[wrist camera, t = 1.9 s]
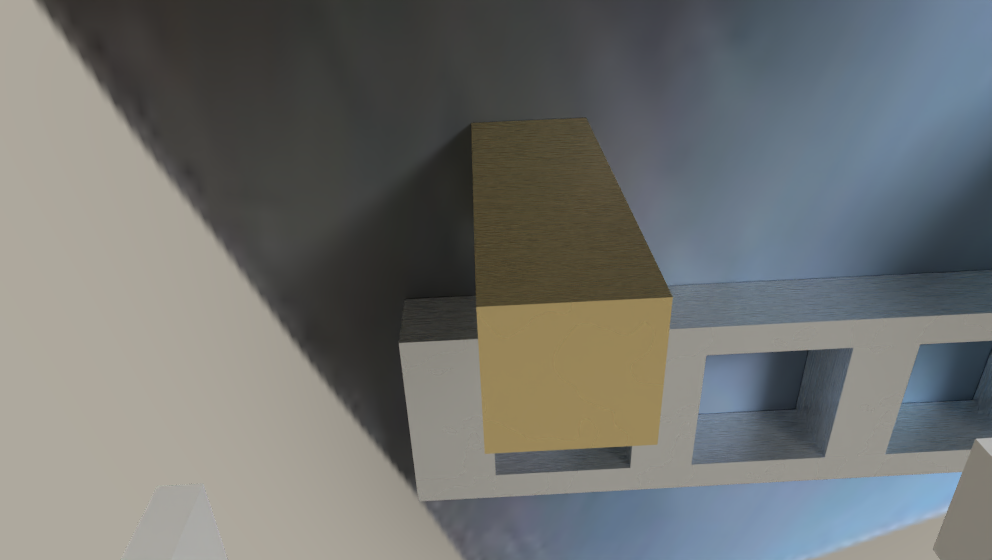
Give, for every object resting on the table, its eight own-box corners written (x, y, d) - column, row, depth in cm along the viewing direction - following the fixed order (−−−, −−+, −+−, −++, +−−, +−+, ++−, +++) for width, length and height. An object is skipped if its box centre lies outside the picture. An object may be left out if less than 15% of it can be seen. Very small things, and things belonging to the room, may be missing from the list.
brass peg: (471, 123, 25) (476, 307, 15) (586, 117, 25) (672, 297, 15) (476, 226, 27) (484, 454, 17) (582, 221, 27) (657, 444, 17)
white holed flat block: (404, 299, 28) (398, 343, 26) (1102, 264, 29) (1166, 304, 26) (422, 450, 32) (418, 501, 30) (1034, 417, 33) (1083, 465, 30)
